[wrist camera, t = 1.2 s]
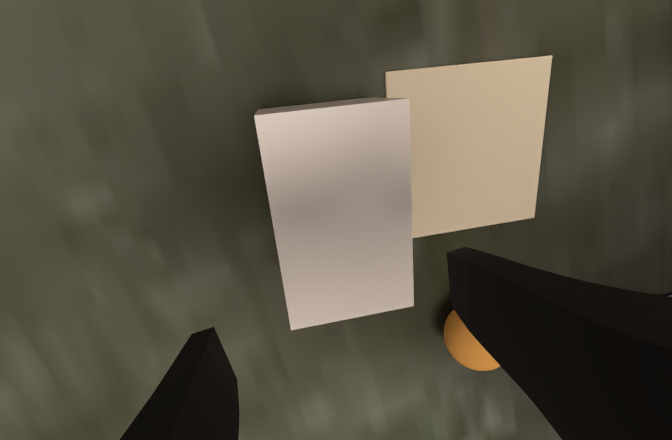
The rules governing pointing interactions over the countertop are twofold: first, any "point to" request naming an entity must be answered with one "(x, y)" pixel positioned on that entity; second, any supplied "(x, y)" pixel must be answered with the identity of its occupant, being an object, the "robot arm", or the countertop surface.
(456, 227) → the mark
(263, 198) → the countertop surface
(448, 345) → the ball
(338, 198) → the white rectangular prism
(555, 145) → the countertop surface
